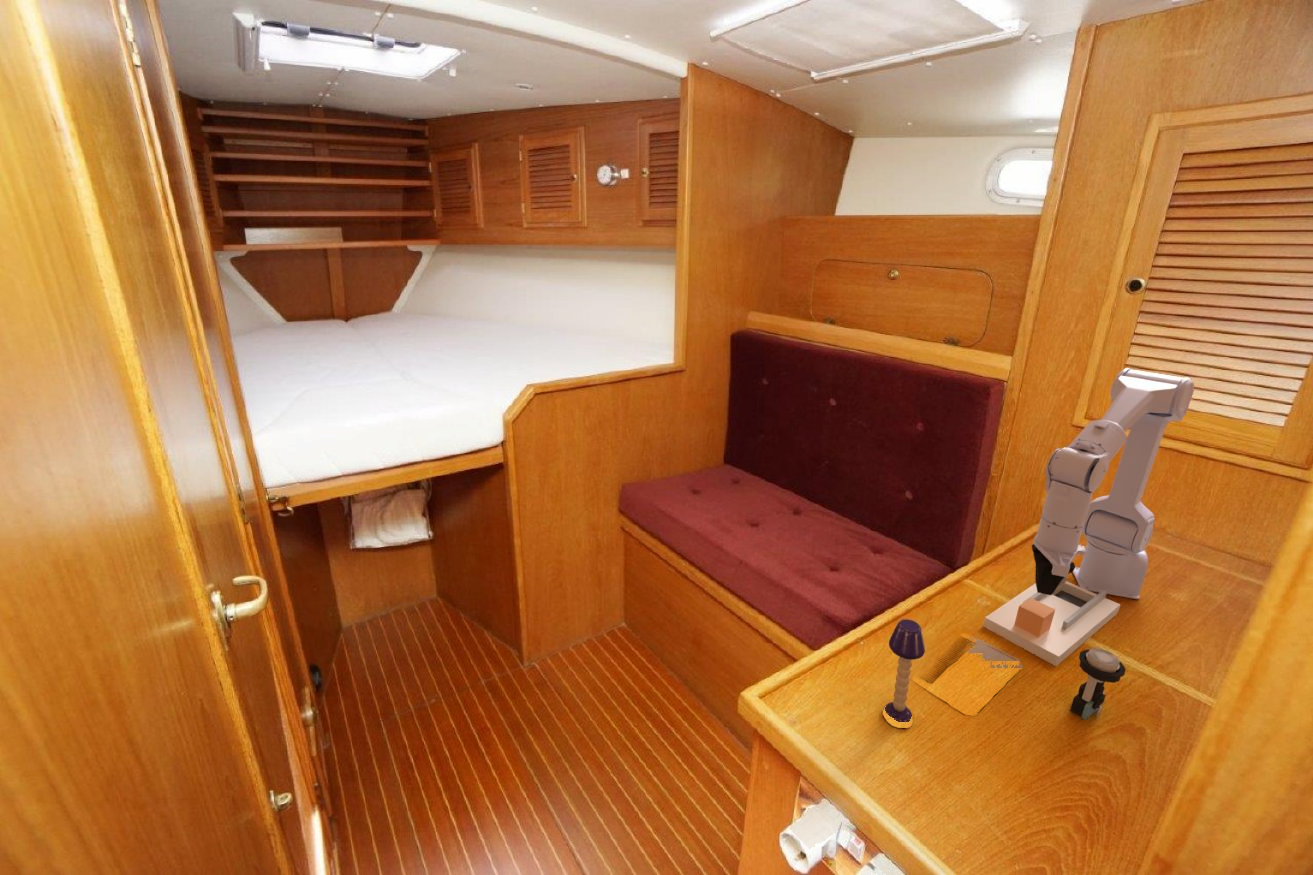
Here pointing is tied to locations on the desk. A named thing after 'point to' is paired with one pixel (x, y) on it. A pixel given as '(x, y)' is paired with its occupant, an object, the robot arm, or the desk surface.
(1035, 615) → the block
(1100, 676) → the push button
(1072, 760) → the desk surface
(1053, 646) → the trough
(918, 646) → the toy lamp
